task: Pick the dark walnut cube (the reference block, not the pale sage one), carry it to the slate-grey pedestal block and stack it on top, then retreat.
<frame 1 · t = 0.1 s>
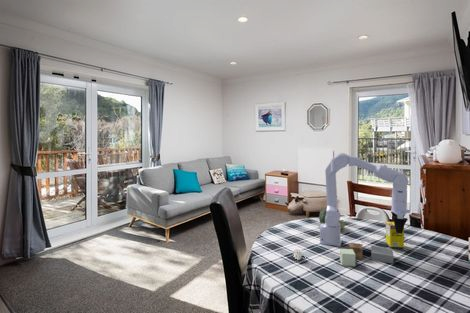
hand: (398, 230, 120), 10 cm above the table, fingers open, 7 cm apart
sage cube: (347, 263, 112), on the table
supplement box: (394, 246, 127), on the table, touching gripper
white lumpy piece: (304, 259, 116), on the table
walnut cube: (356, 256, 118), on the table
vegetable: (331, 228, 155), on the table
pedestal block: (381, 258, 116), on the table
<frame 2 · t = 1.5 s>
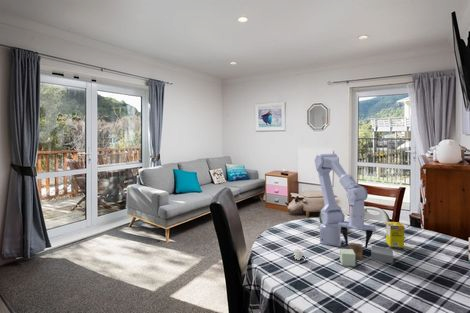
hand: (356, 245, 117), 5 cm above the table, fingers open, 7 cm apart
supplement box: (394, 246, 127), on the table
everything else where it was.
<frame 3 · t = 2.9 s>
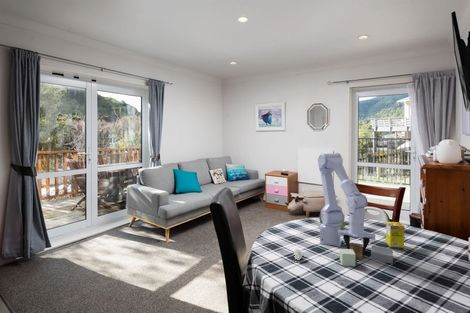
hand: (356, 253, 117), 1 cm above the table, fingers closed on walnut cube, 5 cm apart
walnut cube: (356, 256, 117), on the table, touching gripper
everything else where it was.
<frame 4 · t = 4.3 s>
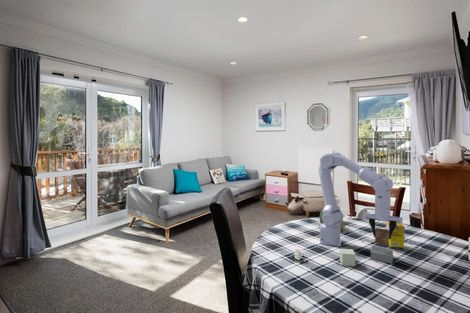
hand: (381, 237, 115), 9 cm above the table, fingers closed on walnut cube, 5 cm apart
walnut cube: (381, 242, 115), point 7 cm above the table, touching gripper
everything else where it was.
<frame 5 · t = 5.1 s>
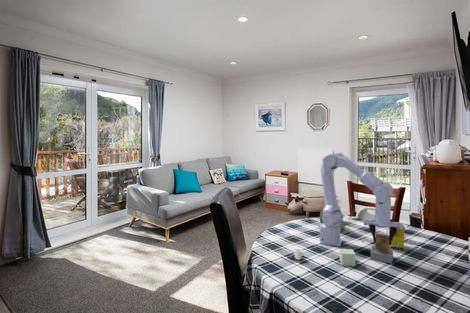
hand: (382, 243, 115), 6 cm above the table, fingers closed on walnut cube, 5 cm apart
walnut cube: (382, 247, 115), point 4 cm above the table, touching gripper
everything else where it was.
when the fingers open (6 cm above the table, at t = 5.7 s): walnut cube drops 1 cm, resting on pedestal block.
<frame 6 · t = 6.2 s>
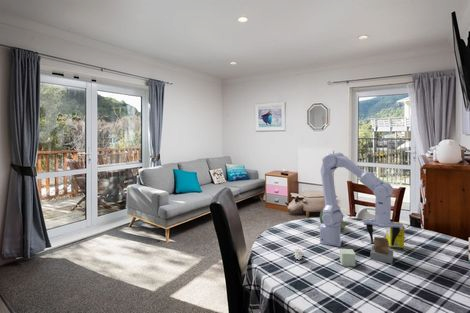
hand: (382, 243, 115), 6 cm above the table, fingers open, 7 cm apart
walnut cube: (381, 250, 116), point 3 cm above the table, touching pedestal block
pedestal block: (381, 258, 116), on the table, touching walnut cube
everything else where it was.
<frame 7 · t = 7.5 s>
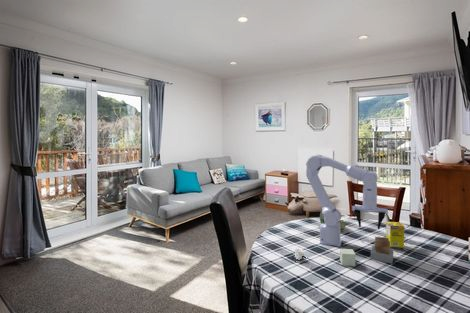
hand: (369, 227, 124), 10 cm above the table, fingers open, 7 cm apart
nothing on the table moved.
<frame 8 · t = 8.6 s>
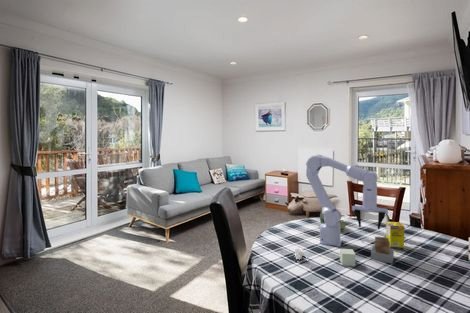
hand: (369, 227, 124), 10 cm above the table, fingers open, 7 cm apart
walnut cube: (382, 250, 116), point 3 cm above the table
pedestal block: (382, 258, 116), on the table
everything else where it was.
at the end: walnut cube 0.1 cm off-centre on the pedestal block, point 3.5 cm above the pedestal block's base; walnut cube tilted 0°; the gripper is holding nothing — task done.
